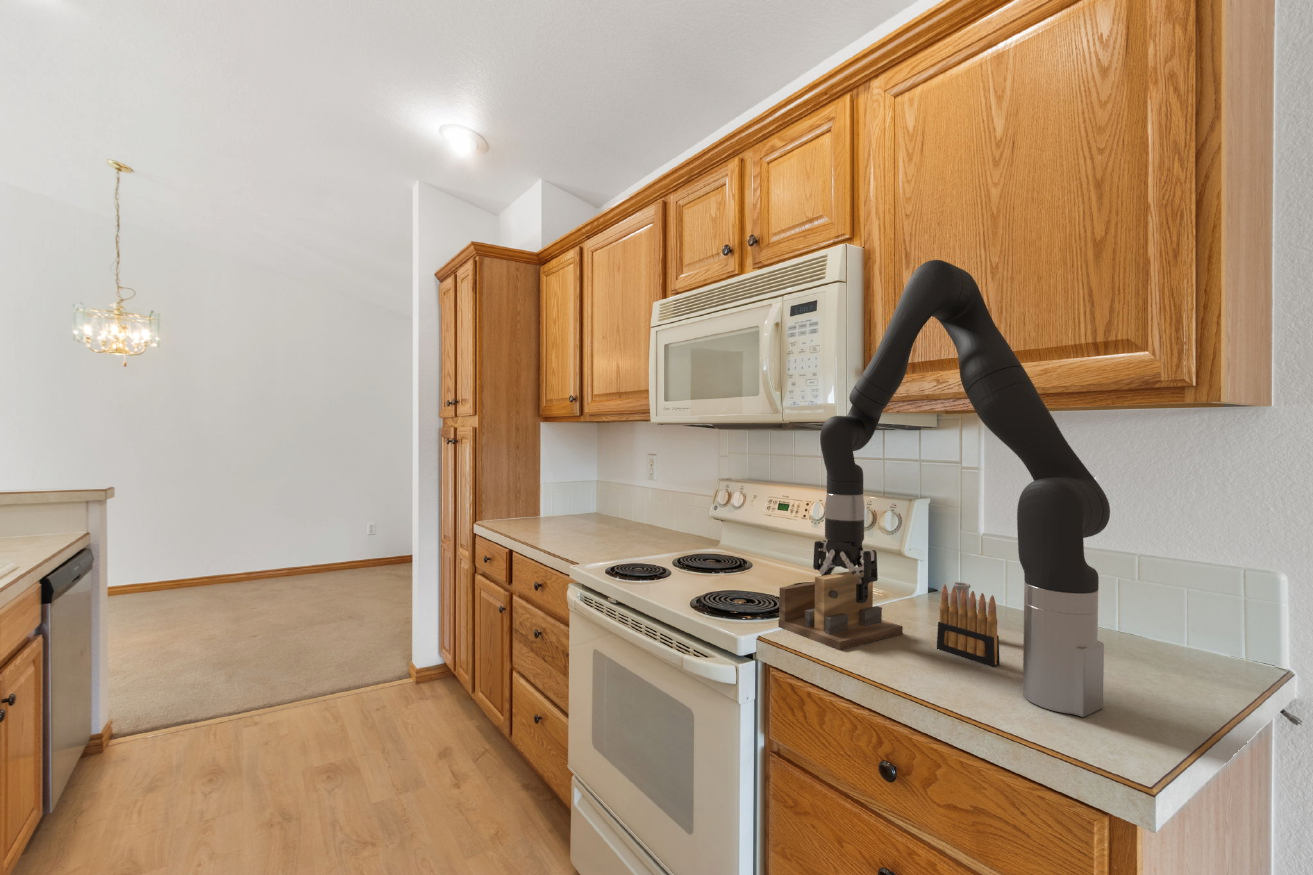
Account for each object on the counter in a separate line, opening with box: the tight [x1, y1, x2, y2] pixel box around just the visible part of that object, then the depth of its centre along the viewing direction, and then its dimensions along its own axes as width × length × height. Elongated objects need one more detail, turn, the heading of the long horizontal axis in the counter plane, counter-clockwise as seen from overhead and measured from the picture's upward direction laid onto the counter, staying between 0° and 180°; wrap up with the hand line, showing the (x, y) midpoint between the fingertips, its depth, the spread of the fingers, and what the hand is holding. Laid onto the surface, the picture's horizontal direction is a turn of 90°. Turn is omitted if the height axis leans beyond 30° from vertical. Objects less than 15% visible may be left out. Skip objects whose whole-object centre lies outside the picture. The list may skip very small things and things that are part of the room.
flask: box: [952, 581, 972, 611], centre depth 124 cm, size 7×7×10 cm
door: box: [814, 570, 874, 631], centre depth 124 cm, size 3×14×10 cm, turn 122°
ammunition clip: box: [936, 584, 1001, 668], centre depth 111 cm, size 11×2×12 cm, turn 33°
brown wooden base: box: [777, 581, 904, 651], centre depth 126 cm, size 16×18×8 cm
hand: (843, 597), depth 125 cm, fingers open, 8 cm apart
